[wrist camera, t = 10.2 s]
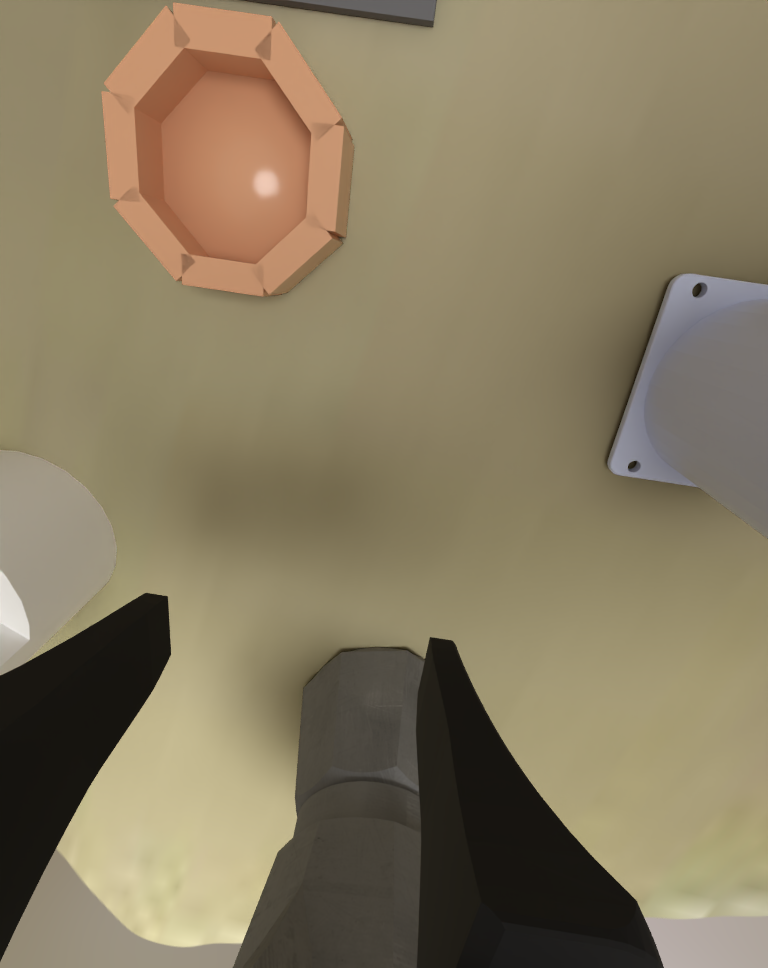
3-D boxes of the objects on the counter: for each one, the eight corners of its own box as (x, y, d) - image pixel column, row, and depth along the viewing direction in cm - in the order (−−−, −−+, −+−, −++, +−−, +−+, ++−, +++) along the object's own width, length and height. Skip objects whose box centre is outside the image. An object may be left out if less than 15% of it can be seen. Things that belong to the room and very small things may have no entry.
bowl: (361, 64, 16) (352, 27, 14) (339, 303, 19) (329, 306, 17) (139, 32, 16) (93, -10, 14) (153, 275, 19) (116, 274, 17)
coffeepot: (252, 650, 27) (-23, 1255, 10) (403, 590, 24) (366, 1246, 8) (381, 817, 32) (339, 1408, 15) (517, 780, 29) (642, 1430, 13)
